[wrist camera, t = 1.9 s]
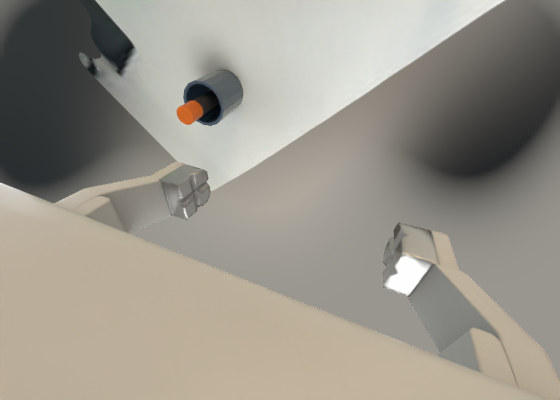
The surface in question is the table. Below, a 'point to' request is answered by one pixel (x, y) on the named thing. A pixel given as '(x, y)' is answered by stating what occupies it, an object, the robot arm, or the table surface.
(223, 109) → the pen cup
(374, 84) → the table surface
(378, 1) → the table surface
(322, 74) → the table surface
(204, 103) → the marker
